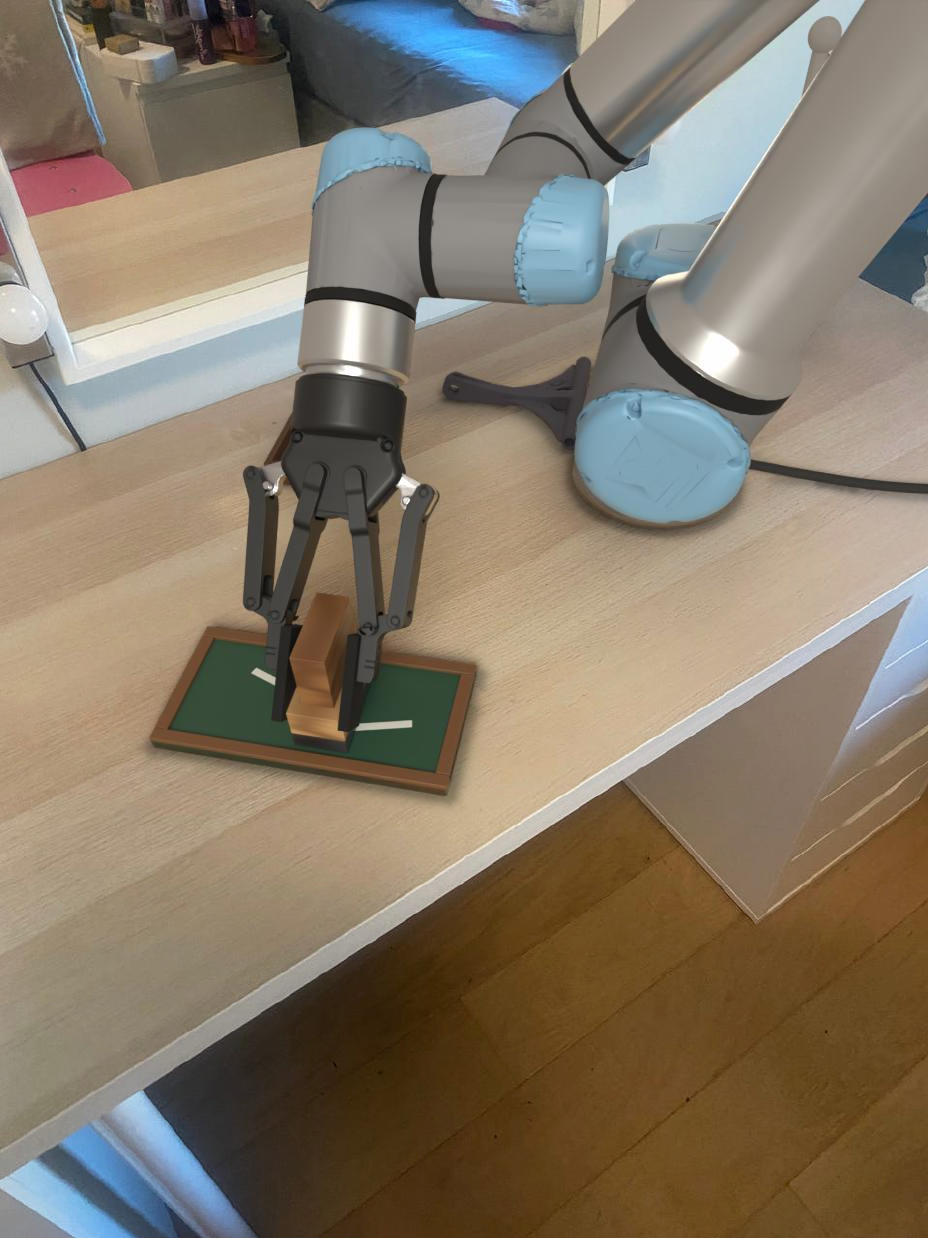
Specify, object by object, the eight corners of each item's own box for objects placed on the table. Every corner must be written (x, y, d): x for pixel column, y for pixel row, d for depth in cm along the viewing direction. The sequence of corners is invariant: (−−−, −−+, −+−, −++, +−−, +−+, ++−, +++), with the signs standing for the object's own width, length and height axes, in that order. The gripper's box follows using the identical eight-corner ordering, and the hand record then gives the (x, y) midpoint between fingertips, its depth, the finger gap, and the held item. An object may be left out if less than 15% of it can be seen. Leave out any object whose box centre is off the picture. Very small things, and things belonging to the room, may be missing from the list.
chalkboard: (476, 674, 69) (476, 664, 68) (446, 796, 62) (446, 787, 61) (210, 636, 73) (207, 625, 72) (153, 748, 65) (148, 737, 64)
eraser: (377, 667, 69) (364, 587, 62) (348, 753, 64) (331, 676, 57) (327, 659, 69) (310, 580, 63) (294, 745, 64) (272, 668, 57)
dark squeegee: (456, 359, 99) (456, 336, 97) (590, 370, 97) (592, 347, 95) (429, 437, 90) (428, 414, 88) (577, 451, 88) (579, 428, 86)
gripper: (484, 403, 63) (446, 732, 64) (255, 383, 65) (223, 698, 67) (467, 380, 55) (424, 752, 57) (209, 358, 58) (174, 713, 59)
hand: (315, 722), depth 62 cm, fingers closed on eraser, 4 cm apart
